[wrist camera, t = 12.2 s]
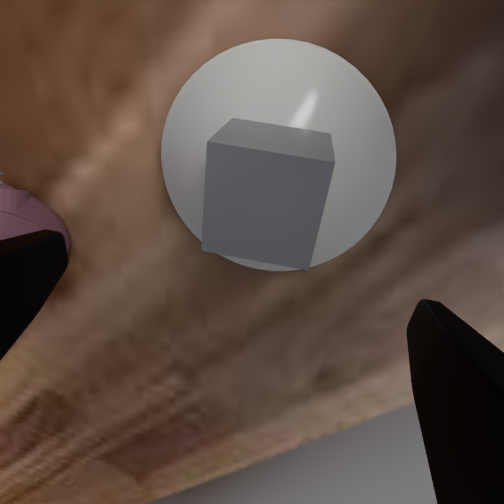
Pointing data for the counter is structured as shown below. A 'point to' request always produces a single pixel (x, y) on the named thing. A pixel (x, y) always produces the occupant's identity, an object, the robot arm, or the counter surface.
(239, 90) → the saucer
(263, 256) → the slate cube
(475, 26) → the counter surface
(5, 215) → the video game controller
